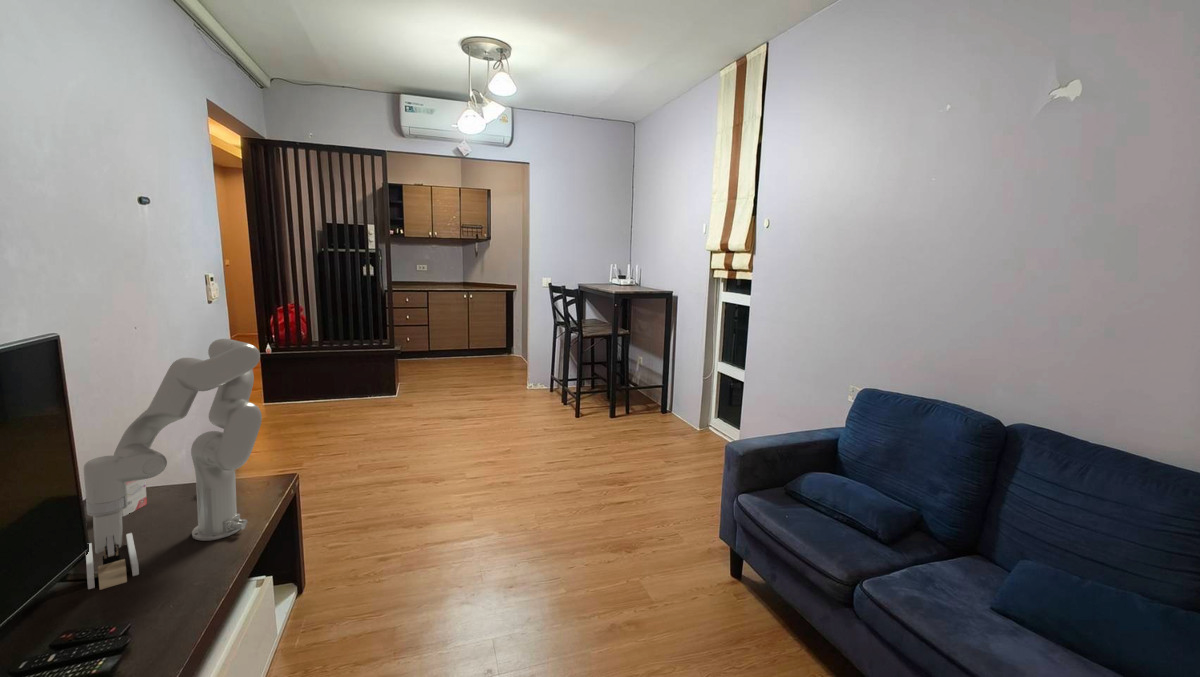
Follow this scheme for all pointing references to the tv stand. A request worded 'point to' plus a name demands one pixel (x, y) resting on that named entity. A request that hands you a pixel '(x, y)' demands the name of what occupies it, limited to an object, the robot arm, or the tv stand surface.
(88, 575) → the frosted channel
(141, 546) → the tv stand surface
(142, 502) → the ink cartridge box
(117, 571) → the maple block
